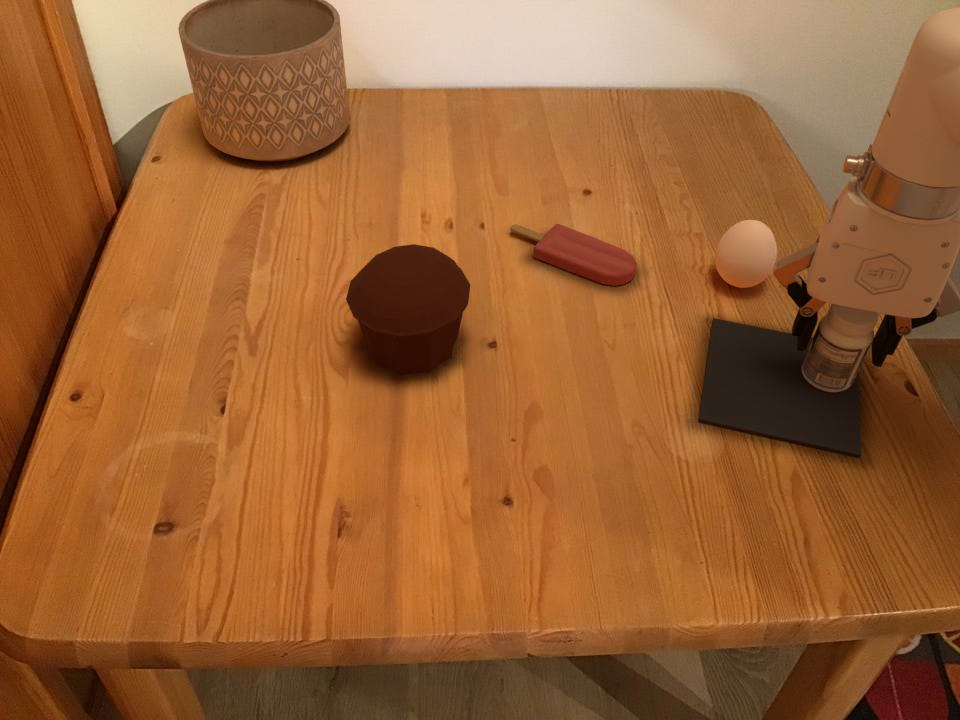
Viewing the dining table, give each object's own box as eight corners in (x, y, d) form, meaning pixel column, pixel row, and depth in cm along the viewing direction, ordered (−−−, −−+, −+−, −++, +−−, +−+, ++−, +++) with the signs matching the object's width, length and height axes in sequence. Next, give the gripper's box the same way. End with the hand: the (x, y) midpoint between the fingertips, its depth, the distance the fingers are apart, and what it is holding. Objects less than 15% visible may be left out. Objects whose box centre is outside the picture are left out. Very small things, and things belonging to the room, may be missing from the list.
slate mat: (856, 349, 83) (857, 346, 83) (859, 458, 74) (861, 455, 73) (712, 320, 86) (713, 318, 86) (698, 422, 76) (698, 419, 76)
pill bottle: (823, 351, 82) (852, 285, 76) (862, 381, 80) (895, 315, 74) (789, 369, 81) (816, 303, 75) (828, 401, 78) (859, 335, 72)
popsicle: (523, 209, 96) (645, 255, 91) (523, 220, 97) (642, 266, 92) (499, 233, 93) (623, 282, 87) (498, 244, 94) (621, 293, 88)
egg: (696, 274, 91) (712, 216, 85) (740, 257, 93) (757, 199, 88) (734, 307, 87) (753, 249, 82) (778, 289, 89) (799, 231, 84)
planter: (353, 93, 117) (342, -12, 107) (348, 168, 104) (336, 56, 94) (215, 96, 116) (192, -11, 105) (194, 172, 103) (164, 59, 92)
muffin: (396, 289, 88) (390, 210, 81) (490, 325, 85) (493, 246, 78) (329, 360, 81) (317, 280, 74) (429, 403, 77) (426, 323, 70)
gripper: (796, 188, 64) (739, 356, 77) (1044, 230, 61) (941, 398, 73) (798, 137, 69) (744, 303, 82) (1027, 174, 66) (934, 340, 79)
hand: (838, 346), depth 77 cm, fingers open, 6 cm apart
